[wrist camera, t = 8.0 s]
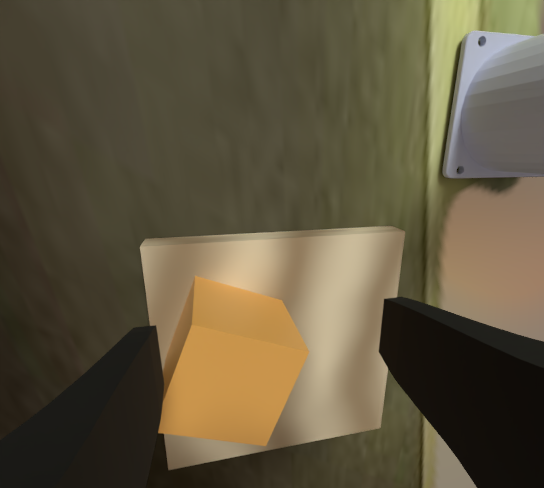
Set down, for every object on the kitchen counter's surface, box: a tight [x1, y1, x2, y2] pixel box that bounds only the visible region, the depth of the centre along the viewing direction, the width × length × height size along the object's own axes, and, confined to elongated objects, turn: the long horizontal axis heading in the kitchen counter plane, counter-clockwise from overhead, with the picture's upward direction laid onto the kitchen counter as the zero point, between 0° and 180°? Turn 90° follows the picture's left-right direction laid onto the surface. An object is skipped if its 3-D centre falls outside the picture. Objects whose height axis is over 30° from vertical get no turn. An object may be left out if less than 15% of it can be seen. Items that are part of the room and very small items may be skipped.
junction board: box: [140, 226, 405, 470], centre depth 18 cm, size 15×15×6 cm
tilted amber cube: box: [158, 276, 309, 446], centre depth 15 cm, size 5×5×5 cm
